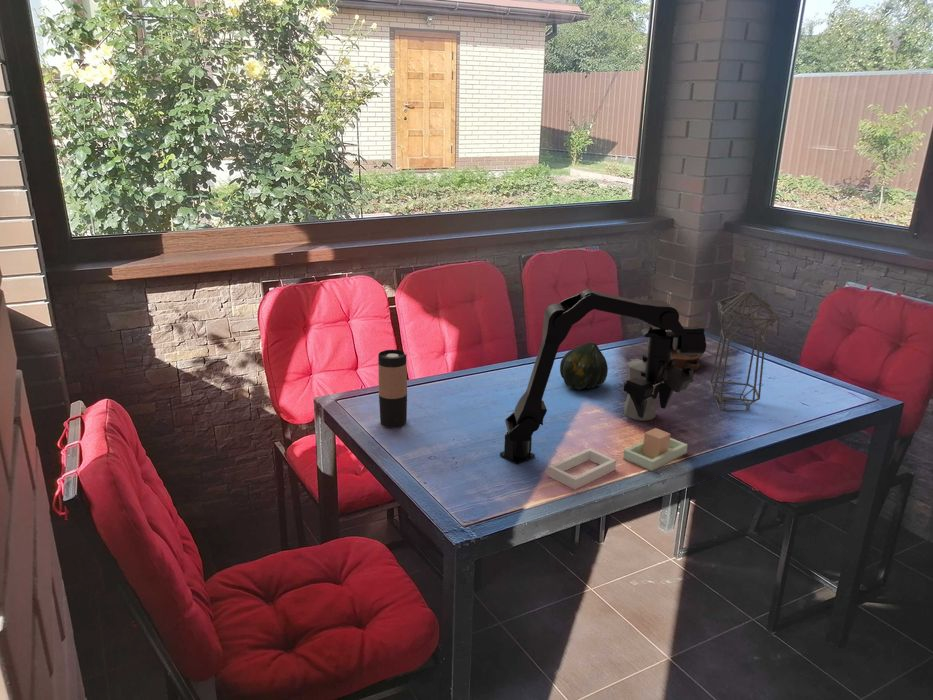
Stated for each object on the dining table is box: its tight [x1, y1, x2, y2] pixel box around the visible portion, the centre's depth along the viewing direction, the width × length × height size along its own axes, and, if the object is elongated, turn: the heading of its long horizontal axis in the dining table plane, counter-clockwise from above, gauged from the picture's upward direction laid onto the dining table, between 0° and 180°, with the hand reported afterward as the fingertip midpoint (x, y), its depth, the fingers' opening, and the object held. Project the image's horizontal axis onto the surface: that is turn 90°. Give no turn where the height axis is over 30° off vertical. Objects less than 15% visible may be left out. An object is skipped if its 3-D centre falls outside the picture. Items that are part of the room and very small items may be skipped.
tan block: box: [643, 427, 671, 459], centre depth 186 cm, size 4×4×6 cm
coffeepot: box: [623, 354, 659, 422], centre depth 207 cm, size 15×9×18 cm, turn 19°
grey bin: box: [547, 447, 617, 490], centre depth 178 cm, size 15×8×2 cm, turn 131°
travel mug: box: [377, 349, 408, 429], centre depth 200 cm, size 8×8×20 cm
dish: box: [671, 346, 703, 371], centre depth 253 cm, size 18×22×5 cm
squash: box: [559, 341, 609, 390], centre depth 230 cm, size 14×15×15 cm
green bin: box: [622, 437, 688, 472], centre depth 187 cm, size 15×8×2 cm, turn 131°
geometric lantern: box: [709, 290, 781, 413], centre depth 213 cm, size 16×16×35 cm
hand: (652, 412), depth 184 cm, fingers open, 9 cm apart
